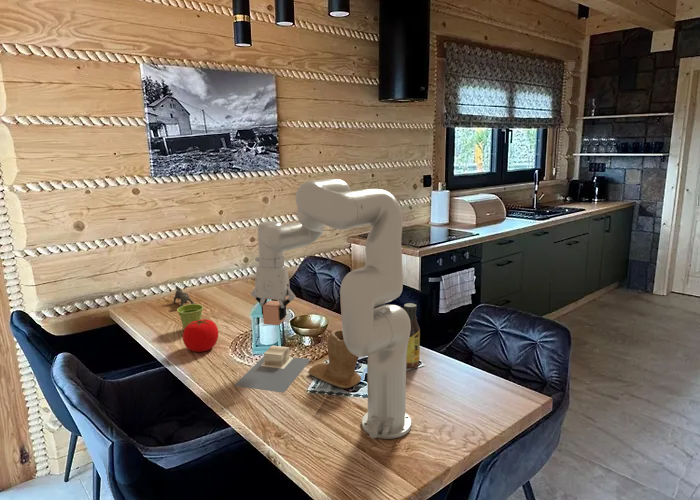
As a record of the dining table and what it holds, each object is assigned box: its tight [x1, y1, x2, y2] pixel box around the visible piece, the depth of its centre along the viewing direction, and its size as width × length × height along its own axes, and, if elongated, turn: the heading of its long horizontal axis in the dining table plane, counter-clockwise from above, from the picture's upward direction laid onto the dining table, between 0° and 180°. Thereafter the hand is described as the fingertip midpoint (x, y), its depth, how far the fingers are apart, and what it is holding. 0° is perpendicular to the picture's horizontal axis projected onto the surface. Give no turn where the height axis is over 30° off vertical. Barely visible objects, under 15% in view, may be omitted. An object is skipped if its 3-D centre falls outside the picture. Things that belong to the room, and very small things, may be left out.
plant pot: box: [176, 303, 204, 330], centre depth 189 cm, size 9×9×9 cm
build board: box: [233, 356, 312, 394], centre depth 153 cm, size 22×16×1 cm
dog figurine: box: [172, 286, 195, 307], centre depth 216 cm, size 12×6×7 cm, turn 41°
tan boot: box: [307, 329, 362, 389], centre depth 148 cm, size 15×12×15 cm
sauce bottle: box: [403, 302, 421, 369], centre depth 156 cm, size 7×6×20 cm
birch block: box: [263, 345, 291, 367], centre depth 159 cm, size 6×6×4 cm
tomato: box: [182, 318, 219, 353], centre depth 172 cm, size 12×12×10 cm
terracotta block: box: [262, 300, 286, 326], centre depth 156 cm, size 5×5×6 cm
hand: (274, 317), depth 156 cm, fingers closed on terracotta block, 4 cm apart
